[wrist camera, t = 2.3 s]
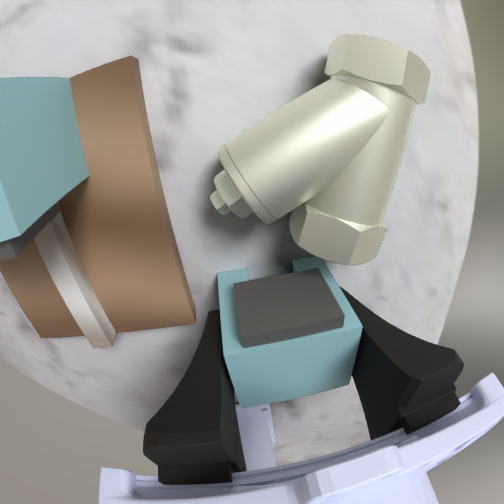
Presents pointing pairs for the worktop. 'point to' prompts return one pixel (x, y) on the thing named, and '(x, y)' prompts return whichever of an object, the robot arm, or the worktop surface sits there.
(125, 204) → the walnut board
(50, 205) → the mounted teal finger
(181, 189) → the worktop surface
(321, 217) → the pipe fitting
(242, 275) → the teal and grey block
